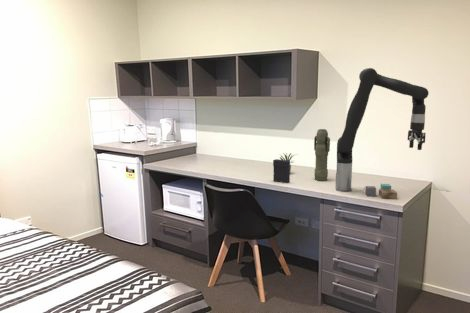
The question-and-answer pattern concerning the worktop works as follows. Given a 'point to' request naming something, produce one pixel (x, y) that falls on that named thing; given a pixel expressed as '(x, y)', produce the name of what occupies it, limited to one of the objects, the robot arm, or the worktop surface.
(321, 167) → the olive green figurine
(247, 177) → the worktop surface
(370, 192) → the charcoal cube
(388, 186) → the teal cube
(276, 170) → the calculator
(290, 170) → the house plant
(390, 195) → the brown square block
